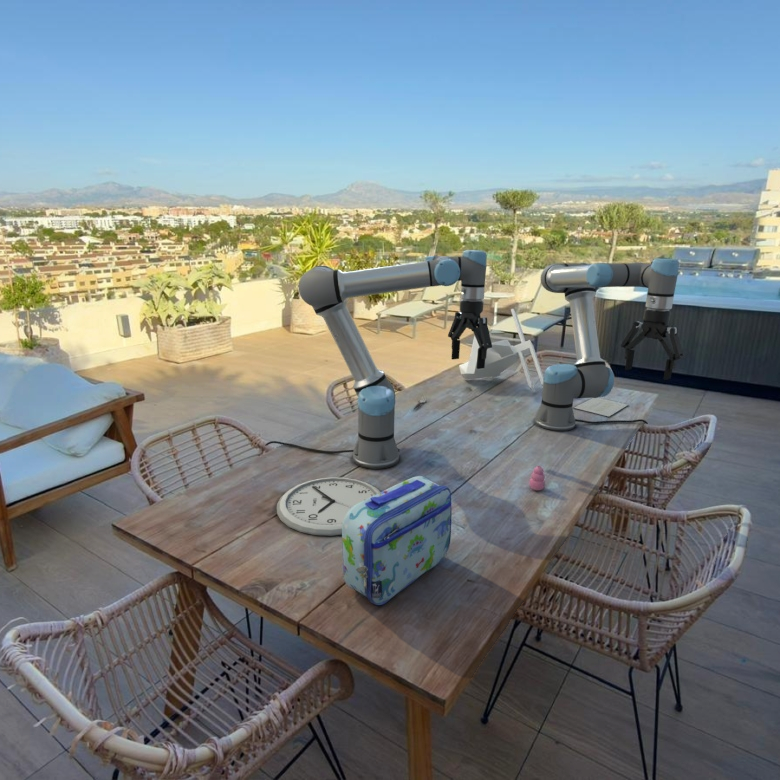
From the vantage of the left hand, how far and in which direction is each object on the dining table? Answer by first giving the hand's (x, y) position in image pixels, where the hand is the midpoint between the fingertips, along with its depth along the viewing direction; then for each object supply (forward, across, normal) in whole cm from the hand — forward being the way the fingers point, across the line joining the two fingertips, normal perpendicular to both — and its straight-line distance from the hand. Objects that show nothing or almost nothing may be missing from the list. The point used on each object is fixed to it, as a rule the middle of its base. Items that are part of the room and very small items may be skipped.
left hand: (467, 363), depth 175 cm
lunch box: (+30, +52, -57) cm, 83 cm away
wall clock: (+30, +17, -57) cm, 66 cm away
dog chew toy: (+29, +36, 0) cm, 47 cm away
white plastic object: (+29, -48, +59) cm, 82 cm away
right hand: (+1, +34, +48) cm, 58 cm away
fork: (+30, -43, +10) cm, 53 cm away
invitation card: (+29, -5, +79) cm, 85 cm away
